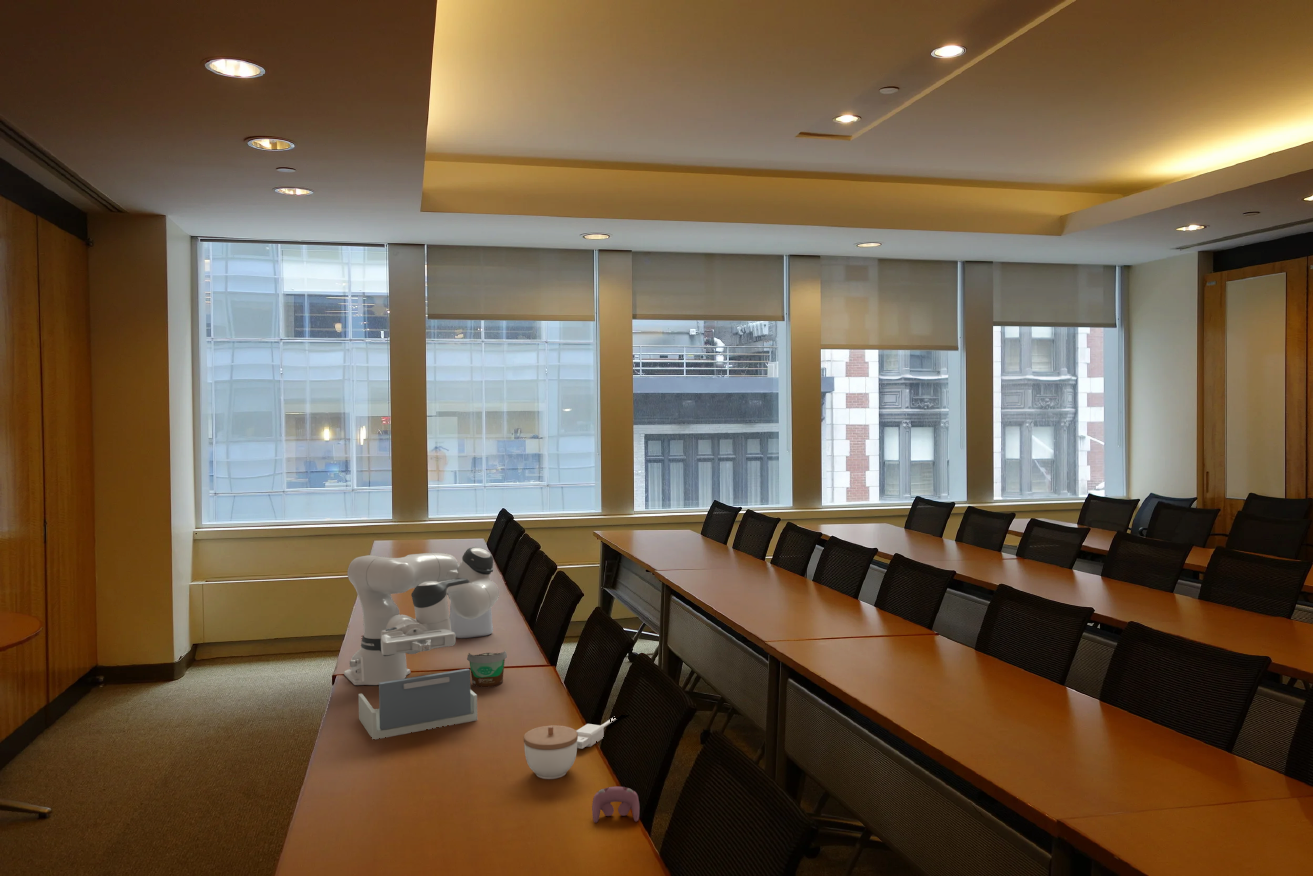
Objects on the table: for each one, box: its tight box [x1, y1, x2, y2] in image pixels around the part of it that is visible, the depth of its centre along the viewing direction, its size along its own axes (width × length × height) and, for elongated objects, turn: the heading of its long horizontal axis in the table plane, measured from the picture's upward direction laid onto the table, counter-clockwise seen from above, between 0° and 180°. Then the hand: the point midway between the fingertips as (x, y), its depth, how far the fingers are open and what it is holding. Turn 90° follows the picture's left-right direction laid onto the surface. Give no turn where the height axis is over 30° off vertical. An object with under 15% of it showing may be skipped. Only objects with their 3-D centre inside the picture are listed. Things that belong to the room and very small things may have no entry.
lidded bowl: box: [523, 724, 578, 780], centre depth 207 cm, size 13×13×11 cm
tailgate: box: [378, 668, 471, 730], centre depth 236 cm, size 2×24×12 cm, turn 119°
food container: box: [466, 650, 508, 689], centre depth 274 cm, size 12×6×10 cm, turn 105°
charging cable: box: [576, 717, 617, 749], centre depth 235 cm, size 5×32×3 cm, turn 157°
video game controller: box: [591, 786, 641, 824], centre depth 185 cm, size 10×5×7 cm, turn 92°
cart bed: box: [358, 688, 478, 740], centre depth 244 cm, size 18×28×7 cm, turn 120°
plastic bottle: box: [449, 602, 494, 639], centre depth 338 cm, size 15×15×28 cm
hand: (425, 648), depth 240 cm, fingers closed
